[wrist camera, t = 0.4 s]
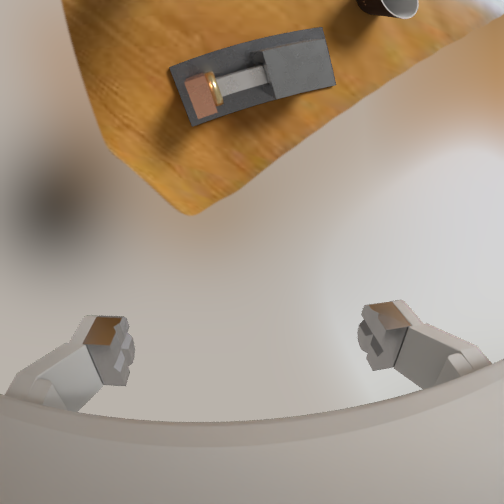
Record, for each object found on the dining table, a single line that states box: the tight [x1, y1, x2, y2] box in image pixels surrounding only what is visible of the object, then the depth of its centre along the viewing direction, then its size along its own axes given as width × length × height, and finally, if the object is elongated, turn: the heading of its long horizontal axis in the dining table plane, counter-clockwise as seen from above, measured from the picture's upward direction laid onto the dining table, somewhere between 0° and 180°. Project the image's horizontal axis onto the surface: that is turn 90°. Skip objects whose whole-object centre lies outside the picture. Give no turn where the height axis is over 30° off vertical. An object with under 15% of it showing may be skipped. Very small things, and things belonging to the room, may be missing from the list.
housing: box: [169, 27, 336, 127], centre depth 43 cm, size 28×12×10 cm, turn 106°
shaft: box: [184, 64, 269, 119], centre depth 42 cm, size 17×6×9 cm, turn 106°
